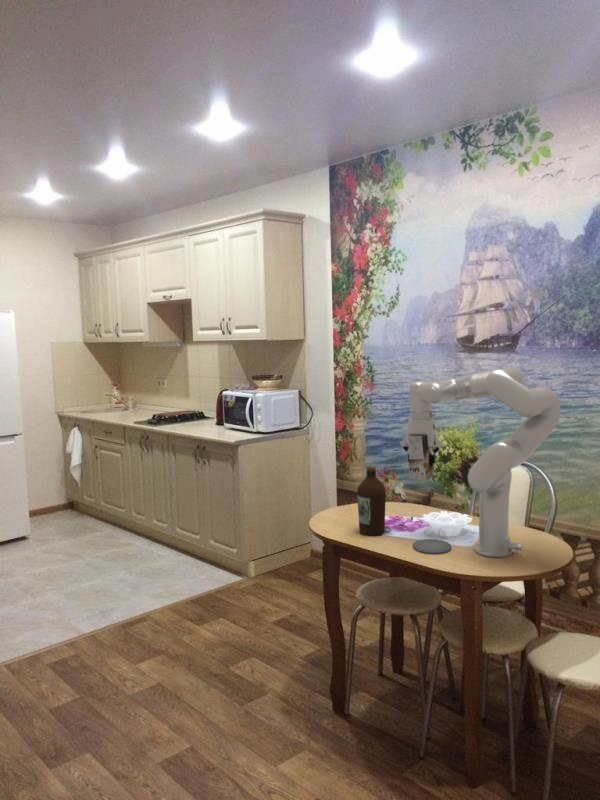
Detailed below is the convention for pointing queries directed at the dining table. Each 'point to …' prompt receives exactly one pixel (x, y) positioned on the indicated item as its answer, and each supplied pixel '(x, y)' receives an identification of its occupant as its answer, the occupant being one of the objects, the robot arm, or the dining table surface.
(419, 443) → the coffee box
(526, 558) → the dining table surface
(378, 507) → the olive oil
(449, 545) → the mat
